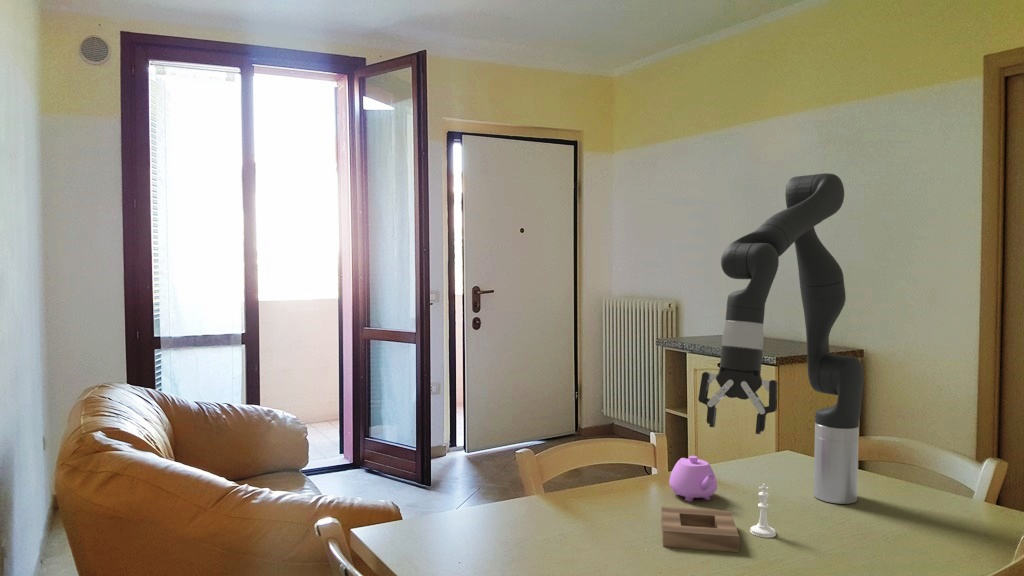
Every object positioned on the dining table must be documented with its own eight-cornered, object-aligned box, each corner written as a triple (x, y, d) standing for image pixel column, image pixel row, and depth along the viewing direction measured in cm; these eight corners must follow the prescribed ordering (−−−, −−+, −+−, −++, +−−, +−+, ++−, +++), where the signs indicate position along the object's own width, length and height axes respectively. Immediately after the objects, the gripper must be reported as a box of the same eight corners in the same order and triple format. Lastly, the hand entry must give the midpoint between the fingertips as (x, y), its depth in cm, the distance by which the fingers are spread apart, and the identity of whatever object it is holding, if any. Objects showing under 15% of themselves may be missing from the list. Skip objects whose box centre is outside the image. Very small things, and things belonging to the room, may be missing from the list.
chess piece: (777, 538, 142) (778, 488, 142) (751, 536, 143) (752, 486, 143) (773, 529, 147) (774, 481, 147) (748, 527, 148) (749, 479, 148)
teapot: (698, 486, 175) (699, 448, 175) (732, 506, 161) (733, 465, 161) (659, 489, 173) (660, 450, 172) (690, 510, 158) (691, 468, 158)
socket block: (661, 520, 152) (661, 506, 151) (730, 525, 149) (730, 511, 149) (663, 546, 138) (663, 530, 138) (738, 552, 135) (739, 536, 135)
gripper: (783, 350, 139) (776, 434, 138) (708, 342, 145) (701, 423, 144) (779, 349, 132) (771, 438, 131) (700, 341, 138) (693, 426, 137)
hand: (734, 430), depth 138 cm, fingers open, 8 cm apart
